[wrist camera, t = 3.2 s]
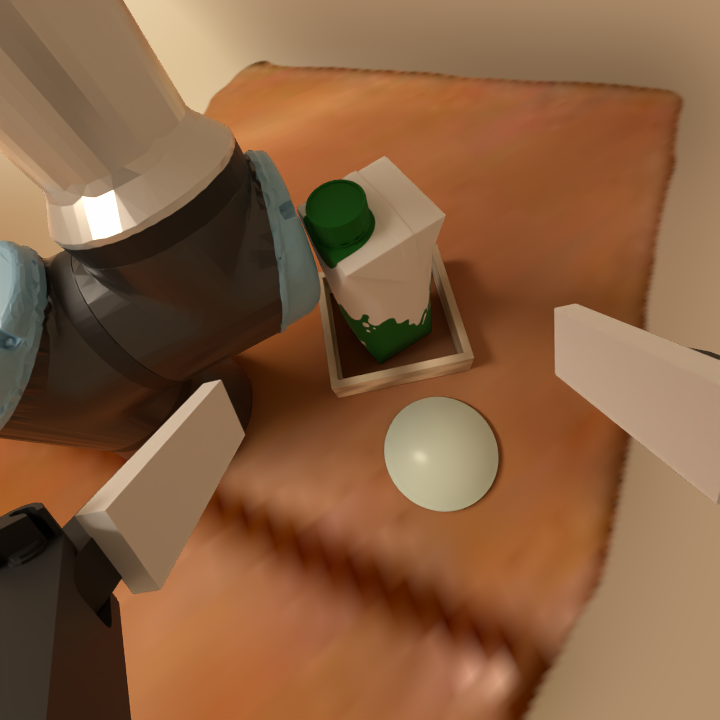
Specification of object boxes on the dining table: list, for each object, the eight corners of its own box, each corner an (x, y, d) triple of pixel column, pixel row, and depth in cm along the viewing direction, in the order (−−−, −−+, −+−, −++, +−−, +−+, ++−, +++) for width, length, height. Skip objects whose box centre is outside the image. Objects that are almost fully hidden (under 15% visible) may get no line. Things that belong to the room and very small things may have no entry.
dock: (339, 397, 38) (331, 389, 34) (322, 289, 43) (314, 273, 40) (469, 369, 36) (474, 358, 33) (435, 262, 42) (436, 243, 39)
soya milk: (339, 319, 41) (274, 182, 23) (401, 281, 42) (385, 116, 23) (377, 375, 38) (337, 267, 19) (444, 333, 38) (465, 187, 20)
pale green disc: (397, 520, 32) (396, 521, 32) (375, 409, 36) (375, 408, 36) (513, 499, 31) (515, 500, 31) (477, 388, 35) (478, 386, 35)
